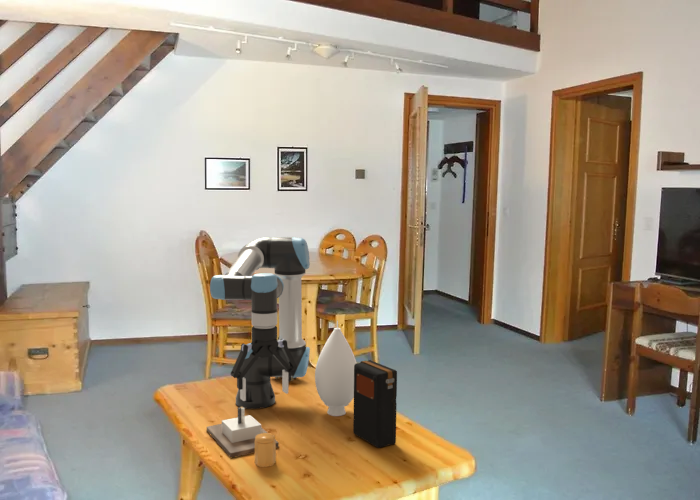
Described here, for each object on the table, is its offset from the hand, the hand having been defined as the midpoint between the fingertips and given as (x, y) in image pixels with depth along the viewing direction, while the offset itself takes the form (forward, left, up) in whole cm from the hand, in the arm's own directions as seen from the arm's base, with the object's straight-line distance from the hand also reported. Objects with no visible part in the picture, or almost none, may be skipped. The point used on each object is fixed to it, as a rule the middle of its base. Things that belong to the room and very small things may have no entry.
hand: (264, 395), depth 177 cm
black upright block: (-38, +2, -21) cm, 44 cm away
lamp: (-39, -25, -21) cm, 51 cm away
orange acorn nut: (0, 0, -21) cm, 21 cm away
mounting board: (0, -20, -21) cm, 29 cm away
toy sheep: (-40, -71, -21) cm, 84 cm away
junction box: (0, -20, -19) cm, 28 cm away
